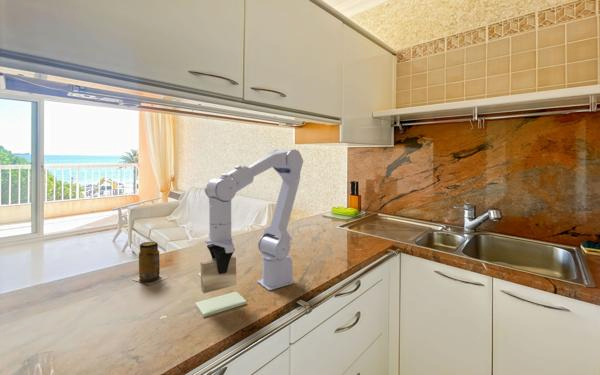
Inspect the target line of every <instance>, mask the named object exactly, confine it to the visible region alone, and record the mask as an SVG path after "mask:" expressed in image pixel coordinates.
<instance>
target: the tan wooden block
mask: <svg viewBox="0 0 600 375" xmlns="http://www.w3.org/2000/svg"><path fill="white" fill-rule="evenodd" d="M200 273H201V277H200V288H201V289H200V290H201V292H202V293H203V294H207V293H211V292H215V291H219V290H223V289H226V288H230V287H234V286H237V257H236V256H235V255H234V254H232V256H231V259H230V262H229V266H228V270H227V273H224V274H219V273H218V269H217V262H216V258H214V259H212V258H209V259H204V260H200Z"/></svg>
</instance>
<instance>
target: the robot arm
mask: <svg viewBox="0 0 600 375" xmlns="http://www.w3.org/2000/svg"><path fill="white" fill-rule="evenodd" d="M303 163H304V159H303V157H302V154H301V152H300V151H299V150H297V149H283V150H281V149H275V150H273V151H270V152H268V153H267V154H266V155H264V156H263V157H261V158H260V159H258V160H256V161H255V162H254V163H251V164H250V165H247V166H246V165H243V164H242V165H236V166H234V168H235V169H233V170H231V171H229V172H227V173H225V172H223V173H222V174H221V176H220V178H218V177H217V178H212V179H210V180H209V181H208V183H206V188H204V193H205V195H206V196H207V198H208V203H209V205H208V206H209V209H208V210H209V213H208V214H209V222H208V223H209V232H208V239H204V242H205V244H207V245H206V247H207V250H208V251H209V253H210V255H211V259H214V258H216V262H217V269H218V273H219V274H224V273H227V270H228V266H229V262H230V259H231V256H232V255H234V253H235V249H236V248H235V244H234V242H233V237H232V200H233V199H234V197H235V195H236V193H238V192H239V191H241V190H242V189H244V188H246V187H247V186H248V185H250V184H252V183H253V182H254V178H255V177H256V176H258V175H261V174H262V173H263V172H266V171H267V170H269V169H271V168H273V169H274V170H275V172H276V173H277V174H278V175H279V176H280V177H281V179H282V182H281V185H280V189H279V190H280V191H279V193H278V197H277V201H276V204H275V206H274V207H275V208H274V210H273V214H272V218H271V222H270V225H269V226H268V227H266V228H265V229H264V230H263V233H262V235H261V237H259V239H258V243H257V249H258V251H259V252H260V253H261V256H262V278H261V279H258V280H257V283H258V284H260V285H261V286H262V287H264V288H265V289H266V290H268V291H273V290H275V289H276V290H277V289H279V288H282V287H286V286H289V285H292V284H294V281H293V268H294V267H293V260H292V258H291V256H290V255H289V254H290V251H291V239H292V238H291V234H290V233H289V232H288V226H289V222H290V218H291V214H292V211H293V207H294V203H295V200H296V195H297V192H298V189H299V185H300V181H301V173H302V172H301V171H302V167H303Z"/></svg>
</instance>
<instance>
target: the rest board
mask: <svg viewBox="0 0 600 375" xmlns="http://www.w3.org/2000/svg"><path fill="white" fill-rule="evenodd" d="M247 303H248V302H247V300H246V299H245V298H244V297H243V296H242V295H241V294H240V293H239V292H237V291H234V292H229V293H227V294H226V293H225V294H221V295H219V296H214V297H211V298H208V299H204V300H203V299H202V300H200V301H195V302H194V305H195V307H196V309H197V310H198V312H199V313H200V315H201V316H202V317H203V318H205V317H208V316H211V315H214V314H218V313H220V312H224V311H228V310H230V309H233V308H234V309H235V308H237V307H240V306H244V305H246V304H247Z"/></svg>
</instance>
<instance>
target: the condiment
mask: <svg viewBox="0 0 600 375" xmlns="http://www.w3.org/2000/svg"><path fill="white" fill-rule="evenodd" d="M158 245H159V244H158V241H157V242H156V241H145V242H142V243H140V244H139V252H138V273H139V274H138V276H139V277H136V278H133V279H132V281H135V282H138V283H141V284H144V285H147V286H150V285H153V284H156V283H159V282H162V281H163V280H166V279H168V278H169V276H167V275H164V274H160V272H161V271H160V269H161V268H160V250H159V246H158Z"/></svg>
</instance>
